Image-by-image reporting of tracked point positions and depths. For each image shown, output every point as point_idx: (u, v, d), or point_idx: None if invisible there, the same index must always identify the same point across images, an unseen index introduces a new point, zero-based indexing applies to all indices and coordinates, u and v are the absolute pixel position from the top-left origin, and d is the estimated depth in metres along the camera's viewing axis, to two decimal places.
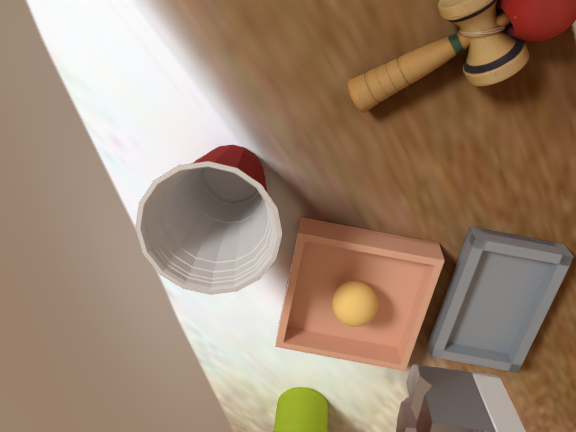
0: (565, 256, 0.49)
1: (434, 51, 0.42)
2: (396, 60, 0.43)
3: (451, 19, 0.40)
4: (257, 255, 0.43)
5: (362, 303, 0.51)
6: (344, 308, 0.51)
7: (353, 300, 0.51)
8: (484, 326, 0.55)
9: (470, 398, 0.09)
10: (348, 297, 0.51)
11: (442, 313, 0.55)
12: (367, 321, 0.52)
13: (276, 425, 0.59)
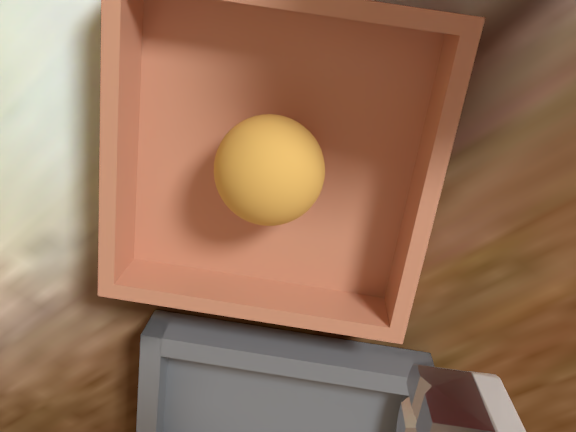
0: None
1: None
2: None
3: None
4: None
5: (299, 197, 0.20)
6: (281, 155, 0.20)
7: (304, 176, 0.20)
8: (217, 405, 0.29)
9: (470, 398, 0.09)
10: (308, 160, 0.20)
11: (241, 334, 0.27)
12: (245, 212, 0.21)
13: None
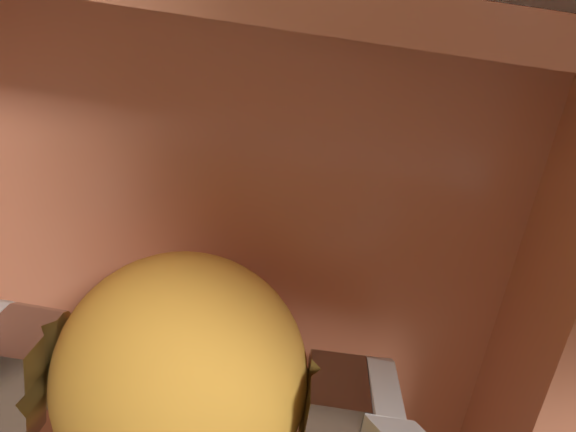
0: None
1: None
2: None
3: None
4: None
5: None
6: (193, 393, 0.08)
7: None
8: None
9: (357, 381, 0.09)
10: (264, 391, 0.08)
11: None
12: None
13: None
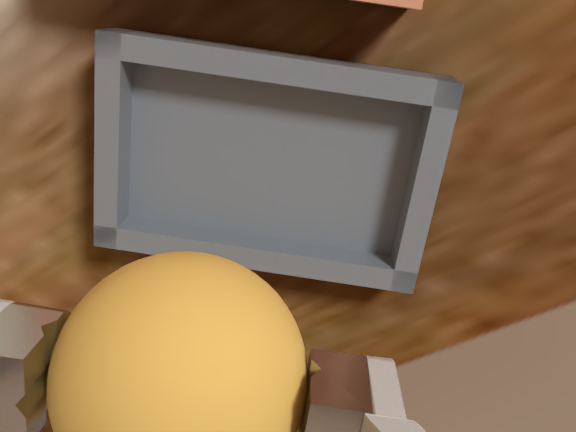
0: (414, 278, 0.23)
1: None
2: None
3: None
4: None
5: None
6: (193, 393, 0.08)
7: None
8: (194, 152, 0.24)
9: (357, 381, 0.09)
10: (263, 391, 0.08)
11: (220, 44, 0.22)
12: None
13: None
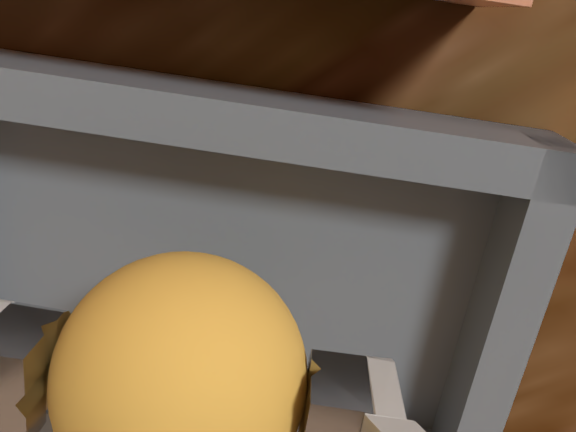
0: None
1: None
2: None
3: None
4: None
5: None
6: (193, 393, 0.08)
7: None
8: (86, 262, 0.13)
9: (357, 381, 0.09)
10: (264, 391, 0.08)
11: (119, 73, 0.11)
12: None
13: None
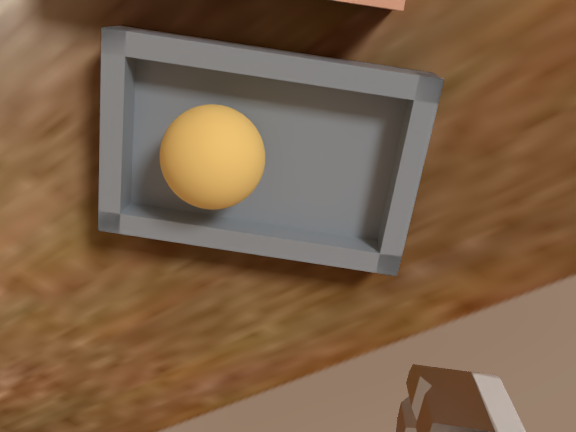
0: (398, 261, 0.25)
1: None
2: None
3: None
4: None
5: (189, 178, 0.21)
6: (180, 134, 0.21)
7: (193, 158, 0.21)
8: None
9: (470, 398, 0.09)
10: (202, 145, 0.21)
11: (218, 42, 0.23)
12: None
13: None
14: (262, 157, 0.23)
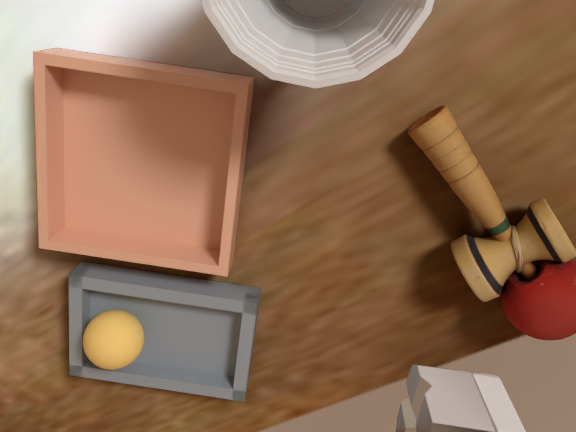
0: (243, 393, 0.43)
1: (494, 205, 0.36)
2: (477, 163, 0.36)
3: (537, 219, 0.35)
4: (257, 41, 0.26)
5: (84, 350, 0.40)
6: (87, 326, 0.40)
7: (85, 342, 0.40)
8: None
9: (470, 398, 0.09)
10: (89, 336, 0.39)
11: (135, 275, 0.41)
12: None
13: None
14: (125, 349, 0.40)
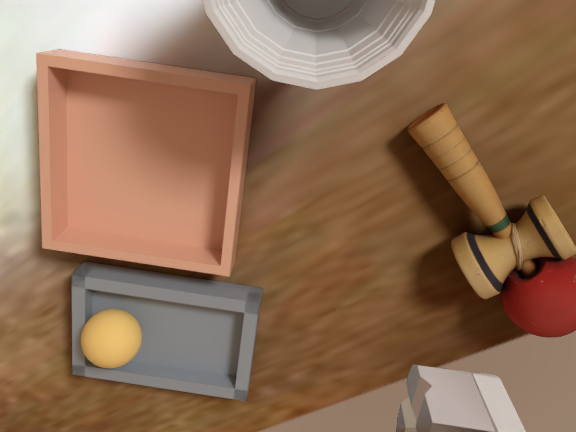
0: (245, 393, 0.43)
1: (493, 203, 0.36)
2: None
3: (537, 217, 0.35)
4: (259, 42, 0.27)
5: (81, 346, 0.41)
6: (86, 323, 0.41)
7: (81, 338, 0.40)
8: None
9: (470, 398, 0.09)
10: (85, 333, 0.40)
11: (138, 275, 0.42)
12: None
13: None
14: (117, 349, 0.40)
